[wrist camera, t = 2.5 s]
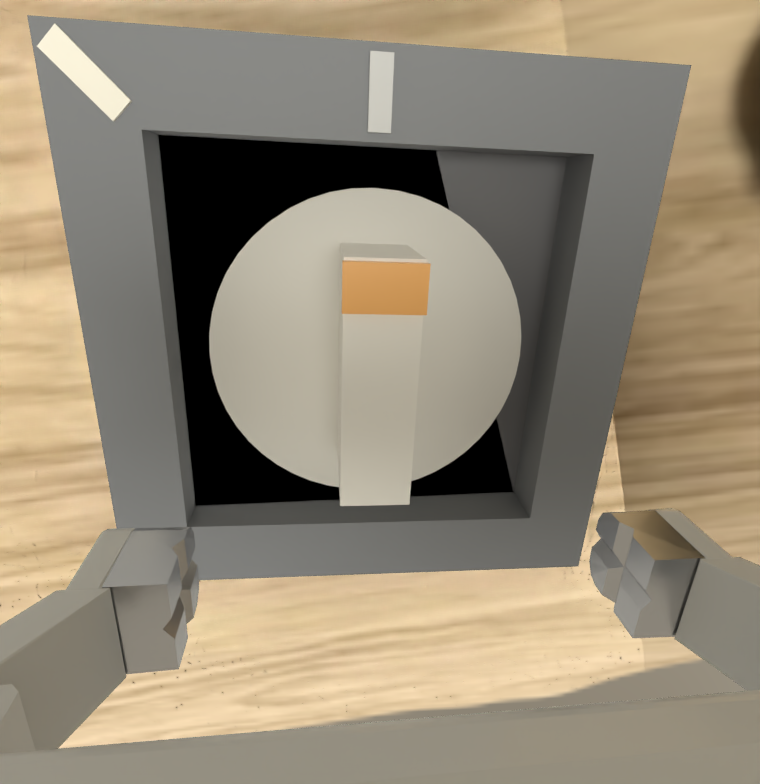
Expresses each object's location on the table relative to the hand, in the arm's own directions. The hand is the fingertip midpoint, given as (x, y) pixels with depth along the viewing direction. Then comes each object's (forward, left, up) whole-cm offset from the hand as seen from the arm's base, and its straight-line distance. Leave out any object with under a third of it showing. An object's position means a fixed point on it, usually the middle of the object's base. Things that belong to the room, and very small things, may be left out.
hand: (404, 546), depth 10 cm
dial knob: (0, 0, -14) cm, 14 cm away
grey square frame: (0, 0, -14) cm, 14 cm away
